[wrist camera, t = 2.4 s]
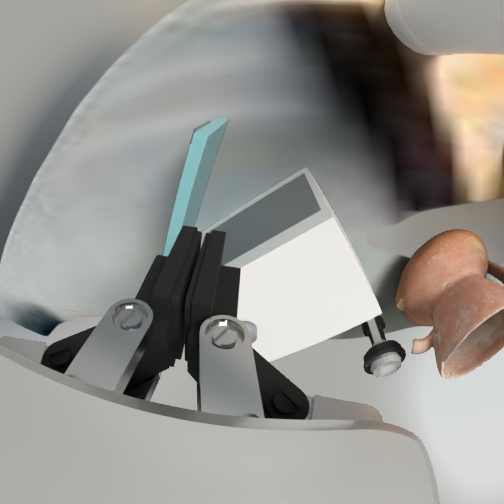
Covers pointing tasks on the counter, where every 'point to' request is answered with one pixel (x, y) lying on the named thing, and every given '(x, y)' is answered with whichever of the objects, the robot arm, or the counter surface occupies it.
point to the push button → (381, 350)
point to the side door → (195, 177)
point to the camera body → (294, 268)
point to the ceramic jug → (454, 301)
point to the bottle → (448, 25)
